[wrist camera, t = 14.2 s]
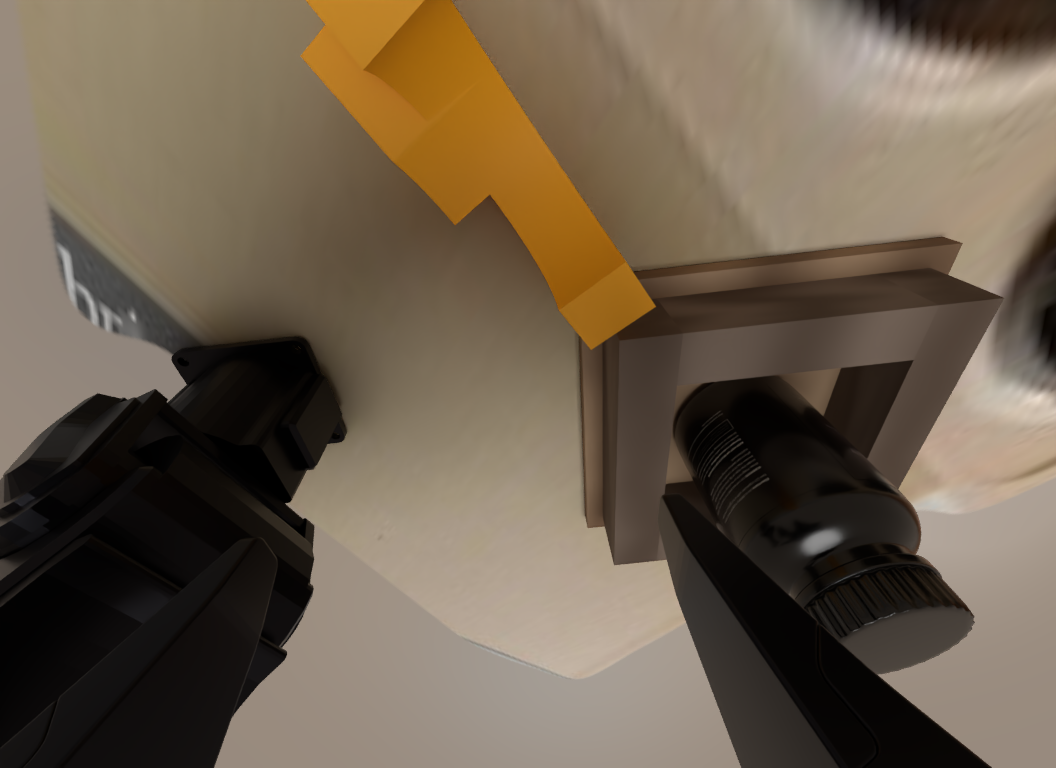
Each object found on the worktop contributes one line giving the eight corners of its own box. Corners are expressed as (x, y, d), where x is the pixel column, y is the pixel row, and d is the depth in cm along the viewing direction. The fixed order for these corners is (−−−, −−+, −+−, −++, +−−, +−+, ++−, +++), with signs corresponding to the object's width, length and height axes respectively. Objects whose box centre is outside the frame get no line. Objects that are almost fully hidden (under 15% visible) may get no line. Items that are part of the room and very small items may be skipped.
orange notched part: (335, 61, 15) (247, 46, 10) (421, -40, 14) (372, -120, 9) (538, 304, 21) (550, 377, 16) (614, 248, 20) (656, 306, 14)
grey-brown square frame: (585, 515, 30) (597, 576, 26) (576, 278, 20) (594, 320, 16) (833, 489, 30) (881, 547, 26) (943, 237, 20) (1045, 270, 16)
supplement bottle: (700, 479, 27) (817, 707, 17) (650, 410, 24) (759, 643, 14) (811, 426, 25) (1018, 650, 15) (773, 342, 22) (1006, 558, 12)
